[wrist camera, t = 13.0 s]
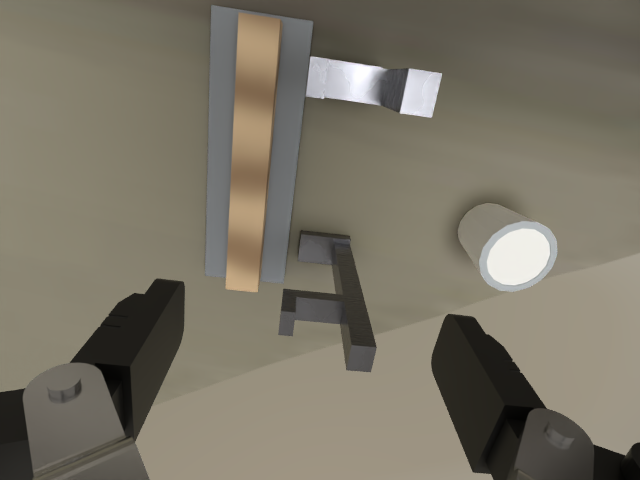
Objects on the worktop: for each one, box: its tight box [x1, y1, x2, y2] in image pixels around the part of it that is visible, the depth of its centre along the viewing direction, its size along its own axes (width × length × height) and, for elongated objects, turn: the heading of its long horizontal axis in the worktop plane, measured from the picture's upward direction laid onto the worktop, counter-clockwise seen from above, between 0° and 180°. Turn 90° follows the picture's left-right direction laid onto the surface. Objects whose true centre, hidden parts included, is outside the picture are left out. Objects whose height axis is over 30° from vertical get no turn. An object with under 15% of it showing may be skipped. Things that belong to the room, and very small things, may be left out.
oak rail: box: [226, 12, 283, 292], centre depth 34 cm, size 23×3×3 cm, turn 172°
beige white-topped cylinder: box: [458, 203, 557, 292], centre depth 37 cm, size 7×7×7 cm
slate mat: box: [205, 5, 313, 283], centre depth 36 cm, size 24×8×2 cm, turn 172°
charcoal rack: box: [278, 56, 442, 372], centre depth 29 cm, size 19×6×17 cm, turn 172°
